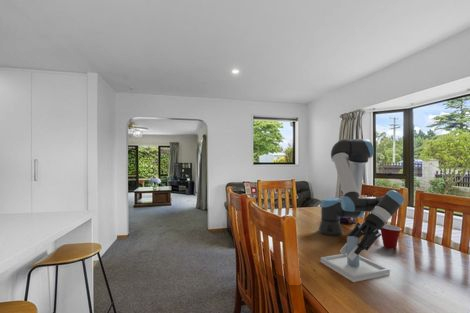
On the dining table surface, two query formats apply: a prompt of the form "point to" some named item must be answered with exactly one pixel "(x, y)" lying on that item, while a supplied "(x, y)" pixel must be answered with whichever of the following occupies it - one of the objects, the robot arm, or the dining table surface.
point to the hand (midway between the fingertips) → (345, 255)
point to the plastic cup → (390, 236)
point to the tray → (355, 267)
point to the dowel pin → (351, 244)
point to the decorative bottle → (346, 218)
